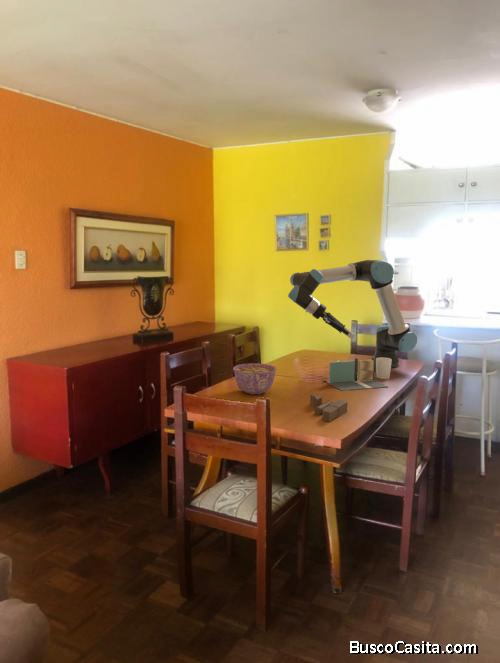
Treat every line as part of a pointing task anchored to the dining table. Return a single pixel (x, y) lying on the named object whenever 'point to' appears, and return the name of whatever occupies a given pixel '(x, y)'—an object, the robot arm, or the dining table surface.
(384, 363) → the white cup
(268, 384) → the bowl of food
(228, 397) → the dining table surface
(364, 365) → the tan brown patterned panel
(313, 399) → the wooden block set
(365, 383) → the mat
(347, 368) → the teal rectangular panel
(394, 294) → the robot arm
